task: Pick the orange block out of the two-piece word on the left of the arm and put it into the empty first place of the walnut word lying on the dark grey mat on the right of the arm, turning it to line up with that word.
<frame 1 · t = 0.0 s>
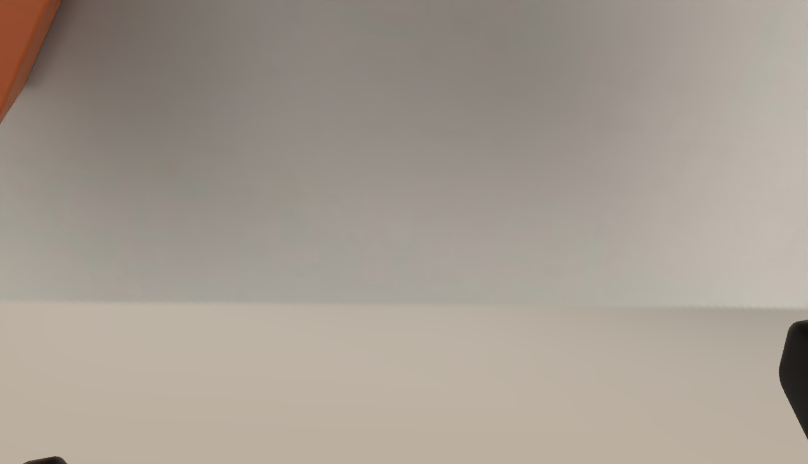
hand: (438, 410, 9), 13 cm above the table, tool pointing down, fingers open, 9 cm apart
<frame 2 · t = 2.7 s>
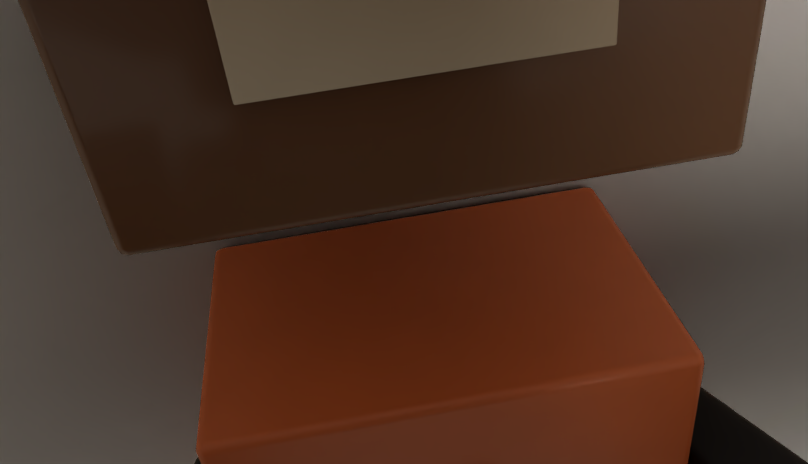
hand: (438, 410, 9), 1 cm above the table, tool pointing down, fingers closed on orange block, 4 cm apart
orange block: (422, 353, 10), on the table, touching gripper
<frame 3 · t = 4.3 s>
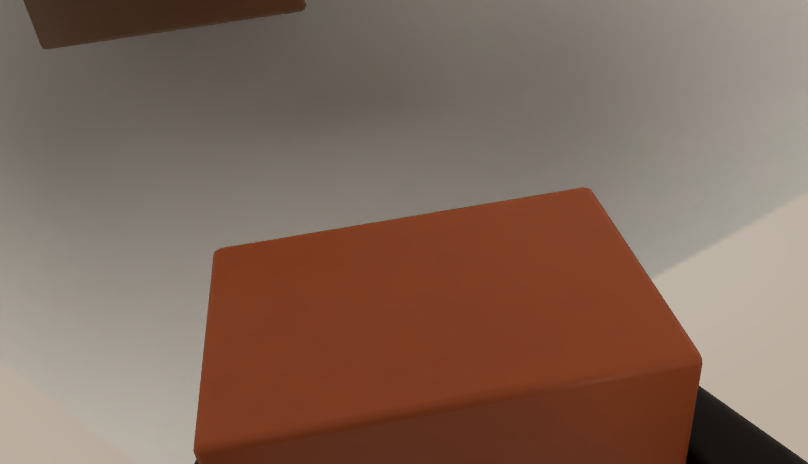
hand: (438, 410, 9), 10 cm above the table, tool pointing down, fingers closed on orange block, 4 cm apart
orange block: (421, 353, 10), point 9 cm above the table, touching gripper
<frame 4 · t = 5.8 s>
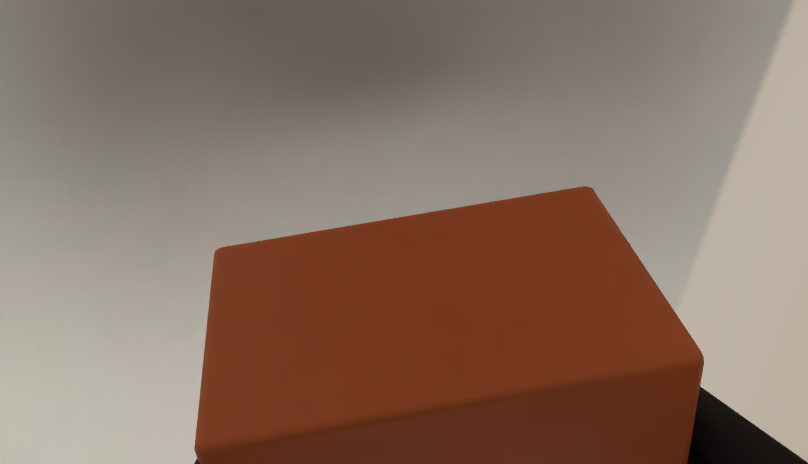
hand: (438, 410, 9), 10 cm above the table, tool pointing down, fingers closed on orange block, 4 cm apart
orange block: (422, 352, 10), point 9 cm above the table, touching gripper
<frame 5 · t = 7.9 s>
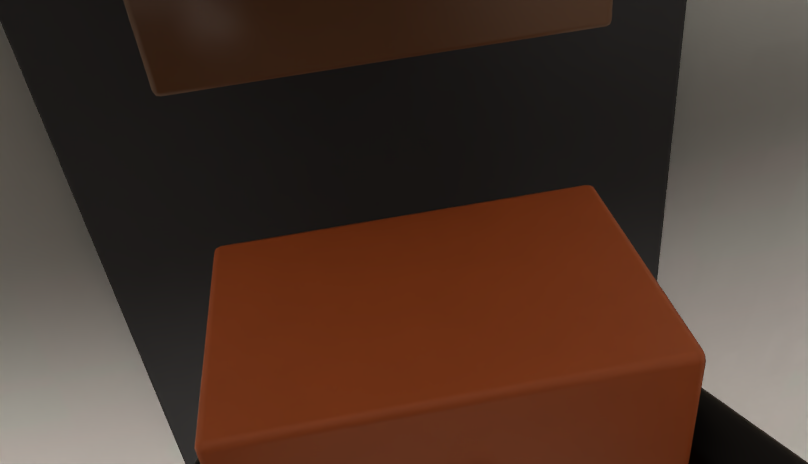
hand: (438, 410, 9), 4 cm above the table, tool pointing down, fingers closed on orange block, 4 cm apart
orange block: (422, 351, 10), point 3 cm above the table, touching gripper
when the fingers open (2 cm above the table, at t = 9.0 s): orange block stays where it is, resting on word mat.
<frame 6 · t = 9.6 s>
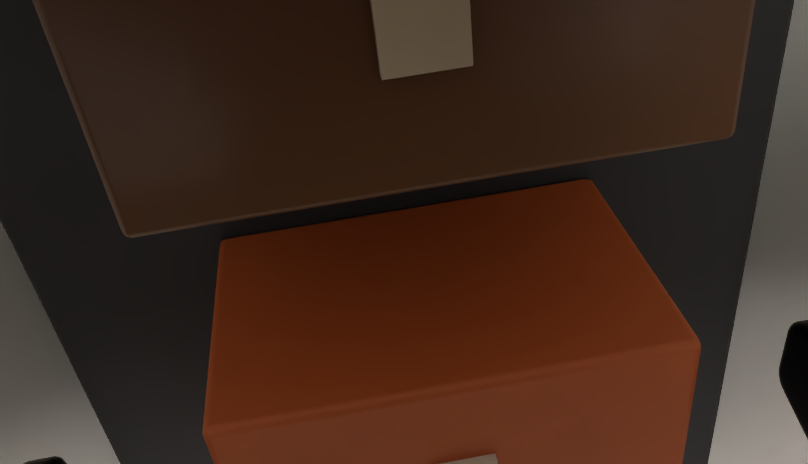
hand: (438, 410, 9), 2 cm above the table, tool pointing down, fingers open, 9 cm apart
orange block: (424, 343, 10), point 1 cm above the table, touching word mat
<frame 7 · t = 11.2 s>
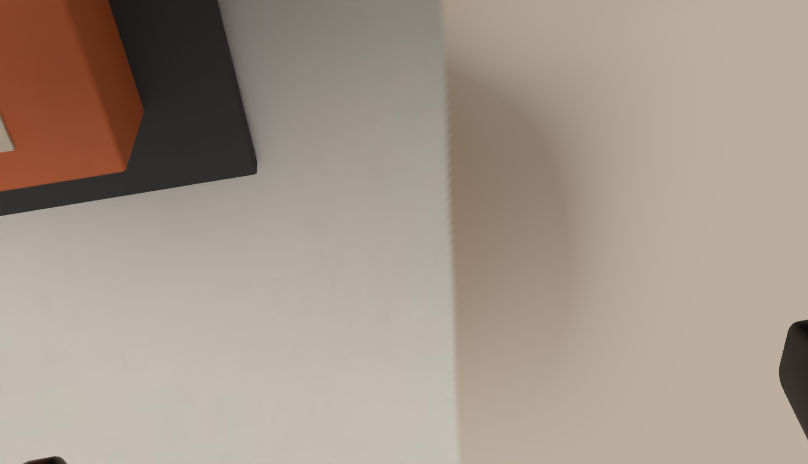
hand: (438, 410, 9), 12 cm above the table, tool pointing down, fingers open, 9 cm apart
orange block: (15, 37, 17), point 1 cm above the table, touching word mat
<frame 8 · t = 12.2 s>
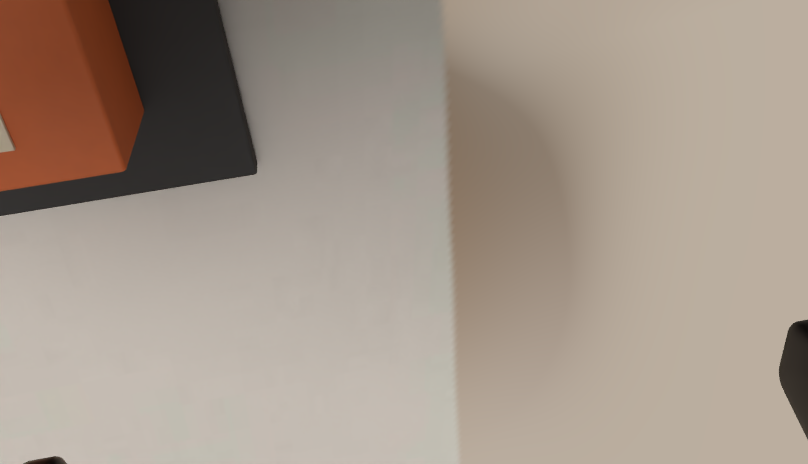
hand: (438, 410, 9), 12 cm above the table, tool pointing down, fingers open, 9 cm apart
orange block: (15, 37, 17), point 1 cm above the table, touching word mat
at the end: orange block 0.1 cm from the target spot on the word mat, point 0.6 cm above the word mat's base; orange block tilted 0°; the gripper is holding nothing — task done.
